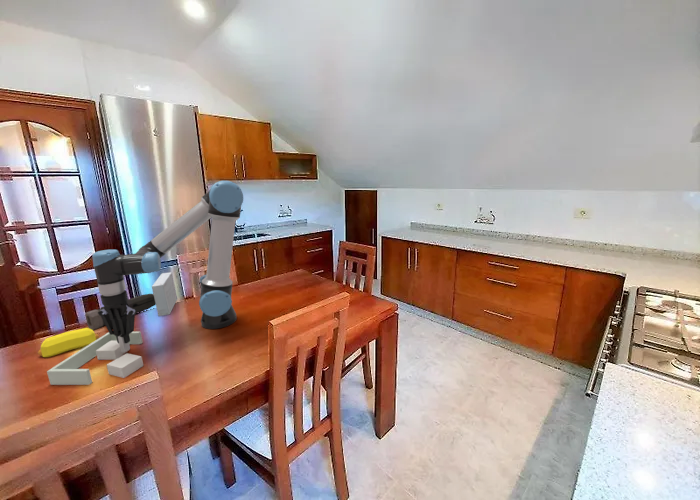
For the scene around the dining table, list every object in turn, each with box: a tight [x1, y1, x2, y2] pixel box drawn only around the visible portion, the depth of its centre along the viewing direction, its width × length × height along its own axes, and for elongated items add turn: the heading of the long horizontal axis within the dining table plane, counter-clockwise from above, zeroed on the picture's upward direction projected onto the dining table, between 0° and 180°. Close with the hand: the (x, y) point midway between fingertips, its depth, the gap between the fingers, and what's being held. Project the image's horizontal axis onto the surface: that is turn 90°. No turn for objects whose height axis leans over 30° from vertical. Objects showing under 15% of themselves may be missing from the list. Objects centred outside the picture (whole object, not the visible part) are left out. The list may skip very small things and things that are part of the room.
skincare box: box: [151, 272, 178, 317], centre depth 153 cm, size 21×6×16 cm, turn 20°
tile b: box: [106, 352, 144, 379], centre depth 104 cm, size 7×7×4 cm
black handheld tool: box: [84, 293, 156, 331], centre depth 144 cm, size 11×7×30 cm
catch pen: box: [46, 331, 143, 386], centre depth 109 cm, size 13×25×5 cm, turn 179°
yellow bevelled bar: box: [37, 327, 100, 358], centre depth 117 cm, size 18×7×8 cm
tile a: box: [96, 341, 131, 361], centre depth 113 cm, size 7×7×4 cm
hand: (125, 350), depth 114 cm, fingers closed
